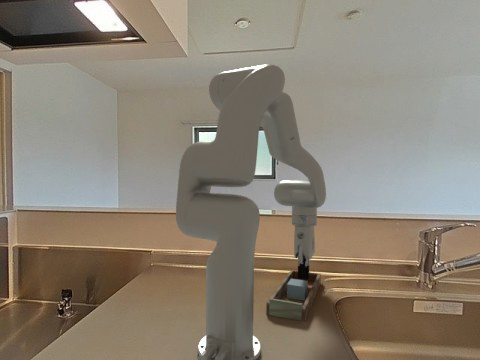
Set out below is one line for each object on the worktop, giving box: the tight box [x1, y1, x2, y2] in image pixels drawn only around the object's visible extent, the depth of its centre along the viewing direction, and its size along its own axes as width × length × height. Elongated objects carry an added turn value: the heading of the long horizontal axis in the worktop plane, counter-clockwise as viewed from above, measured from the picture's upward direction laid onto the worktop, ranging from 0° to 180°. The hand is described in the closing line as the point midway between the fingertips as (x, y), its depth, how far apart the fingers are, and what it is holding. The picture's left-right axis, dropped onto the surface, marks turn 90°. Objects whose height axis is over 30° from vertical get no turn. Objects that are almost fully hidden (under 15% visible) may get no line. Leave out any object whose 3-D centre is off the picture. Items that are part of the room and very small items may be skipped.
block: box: [286, 279, 309, 302], centre depth 95 cm, size 5×5×4 cm
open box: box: [265, 269, 322, 322], centre depth 94 cm, size 28×10×4 cm, turn 158°
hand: (303, 278), depth 102 cm, fingers closed
